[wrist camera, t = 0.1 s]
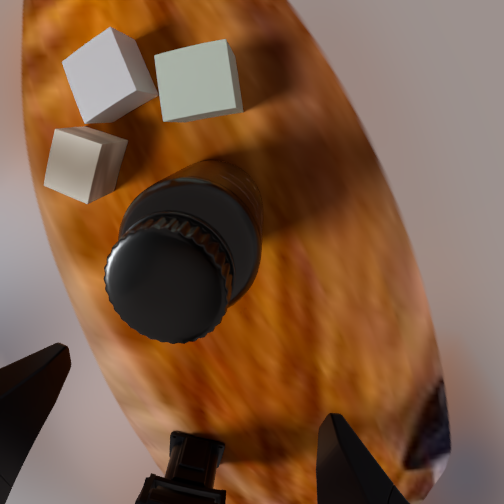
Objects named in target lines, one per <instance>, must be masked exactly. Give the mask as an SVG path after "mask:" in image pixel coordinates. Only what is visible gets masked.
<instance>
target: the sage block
mask: <svg viewBox="0 0 504 504" xmlns="http://www.w3.org/2000/svg"><path fill="white" fill-rule="evenodd" d="M154 58H155V66H156V74H157V81H158V89H159V96H160V103H161V110H162V116H163V122H189V121H194V120H200V119H205V118H210V117H216V116H222V115H228V114H235V113H242V112H243V105H242V98H241V92H240V85H239V78H238V72H237V65H236V58H235V55H234V53H233V51H232V50H231V48H230V46H229V44H228V42H227V40H226V39H223V40H217V41H212V42H207V43H202V44H197V45H193V46H188V47H184V48H180V49H176V50H172V51H168V52H164V53H161V54H157V55H154Z"/></svg>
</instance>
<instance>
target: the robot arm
mask: <svg viewBox="0 0 504 504" xmlns="http://www.w3.org/2000/svg"><path fill="white" fill-rule="evenodd" d="M70 368H71V359H70V353H69V348H68V347H67V346H66V345H63V344H61V343H55V344H53V345H51V346H49V347H47V348H44V349H42V350H40V351H38V352H36V353H33V354H31V355H29V356H27V357H25V358H23V359H20V360H18V361H16V362H14V363H11V364H9V365H7V366H5V367H3V368H0V504H5V503H6V500H7V498H8V496H9V493H10V491H11V489H12V486H13V484H14V482H15V480H16V478H17V476H18V473H19V471H20V469H21V467H22V465H23V463H24V461H25V459H26V457H27V455H28V453H29V451H30V449H31V447H32V445H33V443H34V441H35V440H36V438H37V436H38V434H39V432H40V430H41V428H42V426H43V425H44V423H45V421H46V419H47V417H48V415H49V414H50V412H51V410H52V408H53V406H54V404H55V403H56V400H57V398H58V396H59V394H60V391H61V389H62V387H63V384H64V382H65V380H66V377H67V375H68V373H69V371H70ZM224 449H225V444H224V443H221V442H216V441H211V440H206V439H202V438H197V437H193V436H189V435H185V434H181V433H177V432H171V435H170V454H169V456H170V460H169V463H168V467H167V470H166V474H165V477H164V478H163V477H160V476H156V475H155V474H152V473H151V475H150V477H148V478H146V479H145V483H144V486H143V488H142V490H141V492H140V494H139V496H138V498H137V500H136V502H135V504H225V500H226V490H217V489H213V486H214V480H215V474H216V468H218V467H219V464H220V461H221V458H222V455H223V452H224ZM316 479H317V502H318V504H410V503H409V502H408V501H407V500H406V499H405V498H404V496H403V495H402V494H401V493H400V491H399V490H398V489H397V488H396V486H395V485H393V482H392V481H391V480H390V478H389V477H388V476H387V475H386V473H385V472H384V471H383V469H382V468H381V467H380V465H379V464H378V463H377V461H376V460H375V459H374V457H373V456H372V455H371V453H370V452H369V451H368V449H367V448H366V447H365V445H364V444H363V443H362V441H361V440H360V439H359V437H358V436H357V435H356V433H355V432H354V431H353V429H352V428H351V427H350V425H349V424H348V423H347V421H346V420H345V418H344V417H343V416H342V415H341V414H338V413H329V414H328V415H327V417H326V418H325V420H324V421H323V423H322V424H321V426H320V428H319V433H318V449H317V463H316Z"/></svg>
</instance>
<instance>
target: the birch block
mask: <svg viewBox="0 0 504 504" xmlns="http://www.w3.org/2000/svg"><path fill="white" fill-rule="evenodd" d="M127 143H128V140H126V139H123V138H120V137H117V136H114V135H111V134H108V133H105V132H101V131H98V130H95V129H92V128H89V127H86V126H85V127H72V128H61V129H55V132H54V136H53V141H52V145H51V150H50V154H49V159H48V164H47V170H46V175H45V181H44V186H46V187H48V188H51V189H53V190H55V191H58V192H60V193H62V194H65V195H67V196H69V197H72V198H74V199H76V200H79V201H81V202H84V203H86V204H89V203H91V202H93V201H95V200H97V199H99V198H101V197H103V196H105V195H107V194H109V193H111V192H114V189H115V185H116V181H117V178H118V174H119V170H120V167H121V163H122V160H123V156H124V153H125V150H126V146H127Z"/></svg>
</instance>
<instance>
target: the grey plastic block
mask: <svg viewBox="0 0 504 504" xmlns="http://www.w3.org/2000/svg"><path fill="white" fill-rule="evenodd" d="M62 64H63V67H64V70H65V73H66V76H67V78H68V81H69V84H70V87H71V89H72V92H73V95H74V98H75V100H76V103H77V105H78V108H79V111H80V113H81V116H82V118H83V121H84V123H85V124H88V123H111V122H114V121H116V120H117V119H119V118H121V117H122V116H124V115H126V114H127V113H129V112H131V111H132V110H134V109H136V108H137V107H139V106H141V105H143V104H144V103H146V102H148V101H150V100H151V99H153V98H155V97H157V96H159V94H158V92H157V90H156V87H155V85H154V83H153V81H152V78H151V76H150V74H149V71H148V69H147V67H146V64H145V62H144V60H143V57H142V55H141V53H140V50H139V48H138V46H137V43H136V41H135V40H134V39H132V38H130V37H129V36H127V35H125V34H123V33H121V32H119V31H117V30H116V29H114V28H112V27H110V28H108V29H106V30H105V31H103V32H102V33H101V34H99V35H98V36H96V37H95V38H93V39H92V40H90V41H89V42H88V43H86V44H85V45H83V46H82V47H81V48H79V49H78V50H77V51H75V52H74V53H73V54H71V55H70V56H69V57H68V58H66V59H65V60H64V61H63V62H62Z"/></svg>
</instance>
